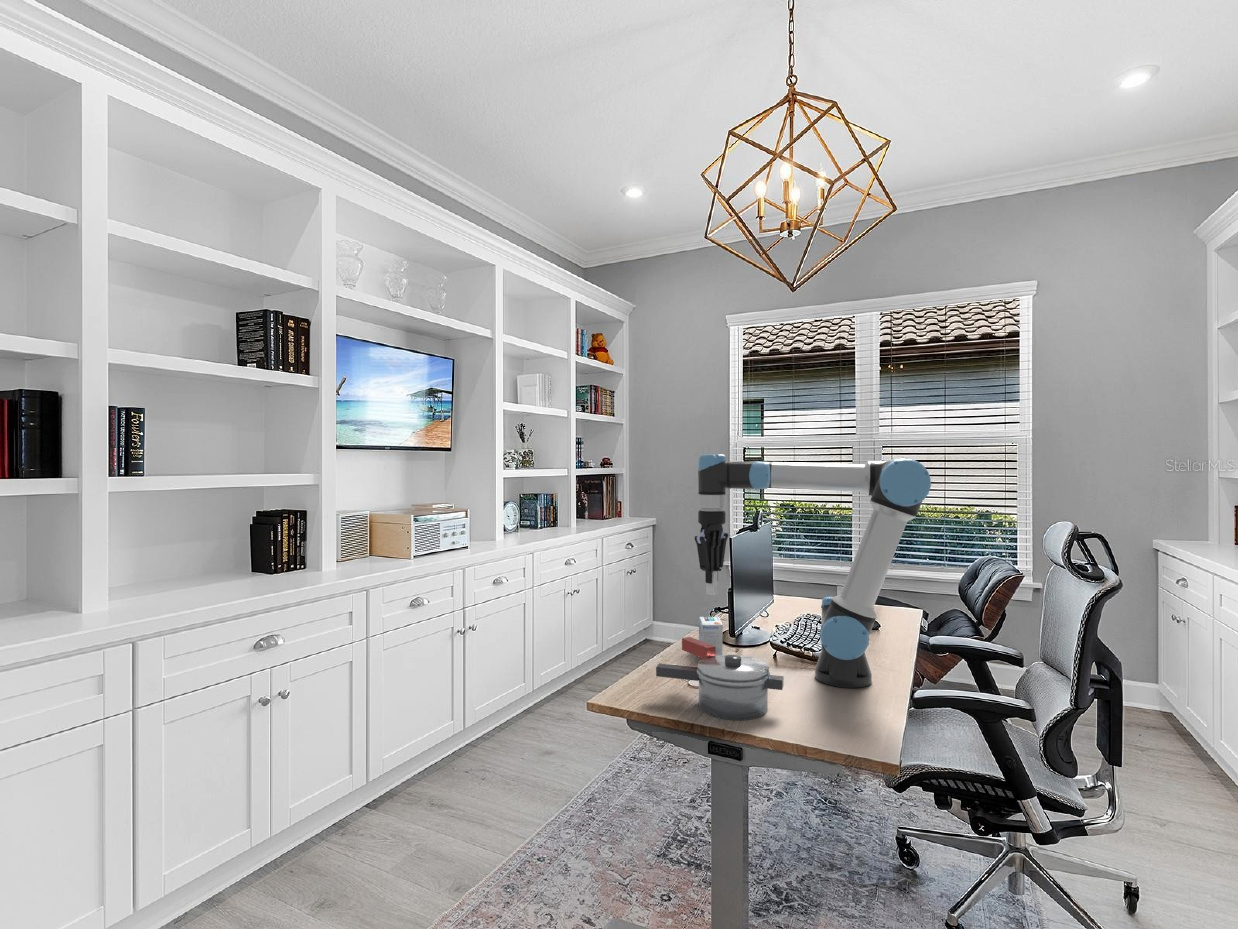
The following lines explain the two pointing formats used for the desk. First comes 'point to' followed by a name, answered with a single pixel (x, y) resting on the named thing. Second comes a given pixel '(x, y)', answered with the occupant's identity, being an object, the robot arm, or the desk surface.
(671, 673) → the cooker pot
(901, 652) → the desk surface
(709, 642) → the light bulb box
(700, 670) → the lid
